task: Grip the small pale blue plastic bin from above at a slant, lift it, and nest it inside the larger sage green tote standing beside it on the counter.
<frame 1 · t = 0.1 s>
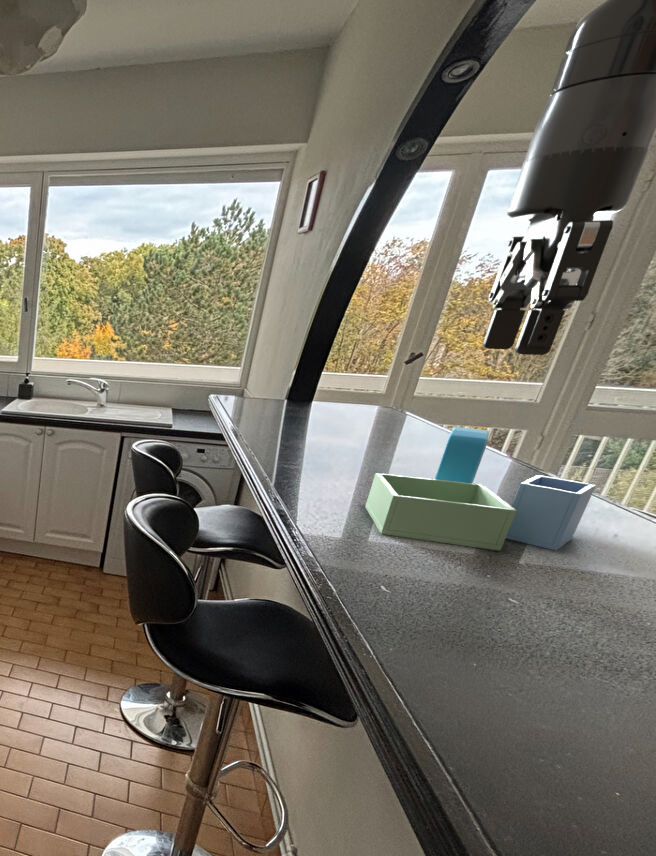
hand: (512, 351, 56), 26 cm above the countertop, tool pointing down, fingers open, 8 cm apart
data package: (444, 505, 98), on the countertop
small bin: (535, 537, 84), on the countertop
green tote: (426, 527, 87), on the countertop
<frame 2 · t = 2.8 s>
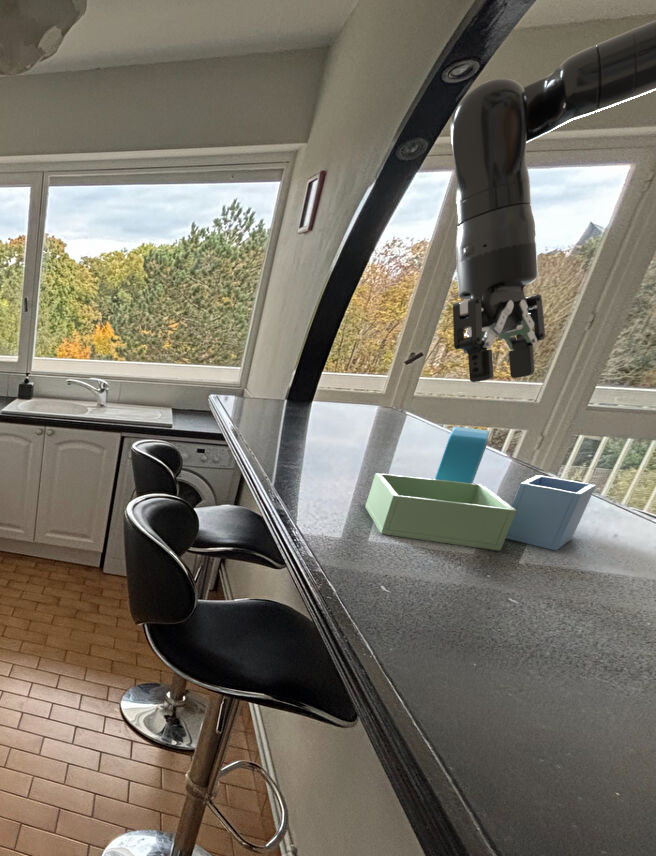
hand: (502, 378, 78), 22 cm above the countertop, tool tilted 20°, fingers open, 8 cm apart
nothing on the countertop moved.
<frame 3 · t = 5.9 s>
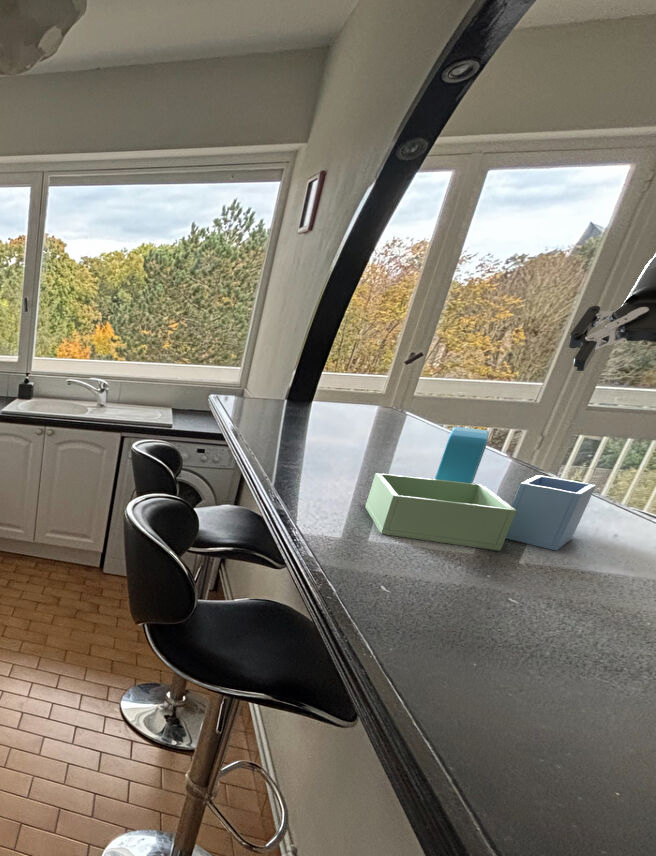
hand: (624, 370, 81), 23 cm above the countertop, tool tilted 45°, fingers open, 8 cm apart
nothing on the countertop moved.
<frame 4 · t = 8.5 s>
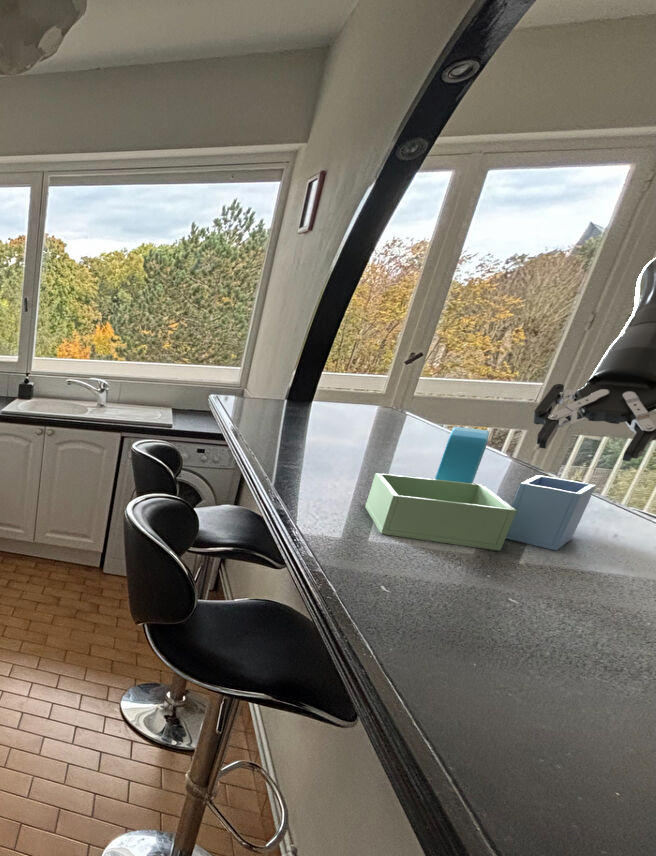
hand: (583, 451, 83), 12 cm above the countertop, tool tilted 45°, fingers open, 8 cm apart
nothing on the countertop moved.
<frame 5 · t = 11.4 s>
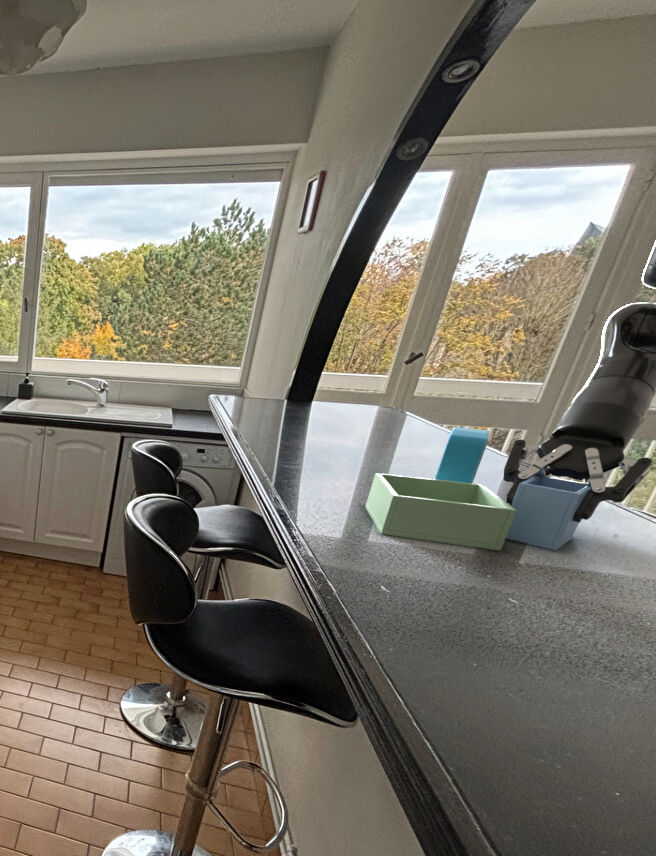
hand: (543, 511, 81), 4 cm above the countertop, tool tilted 45°, fingers closed on small bin, 6 cm apart
small bin: (535, 537, 84), on the countertop, touching gripper
everything else where it was.
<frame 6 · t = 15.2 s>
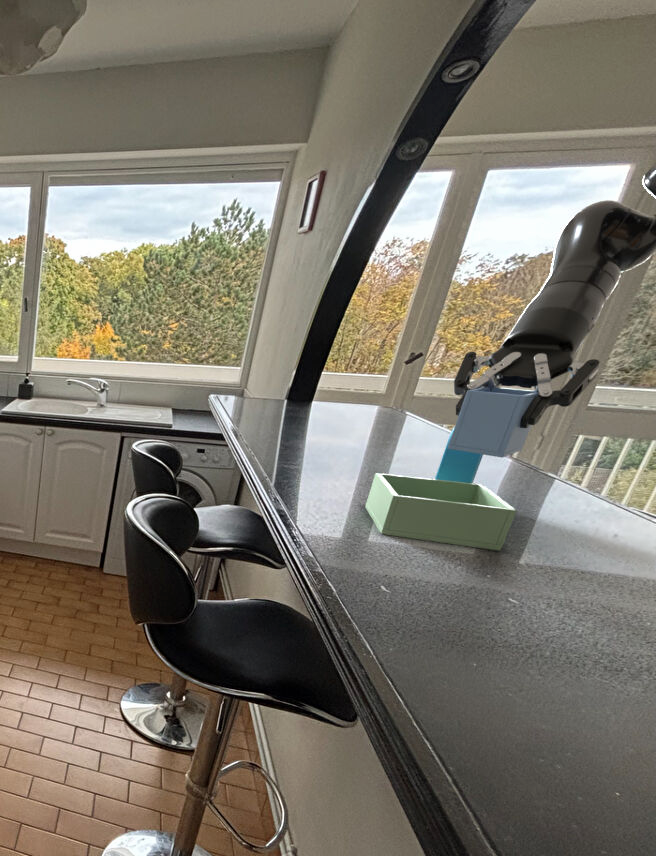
hand: (491, 419, 79), 16 cm above the countertop, tool tilted 45°, fingers closed on small bin, 6 cm apart
small bin: (484, 449, 82), point 12 cm above the countertop, touching gripper
everything else where it was.
when the fingers open (5 cm above the countertop, at t = 19.2 s): small bin stays where it is, resting on green tote.
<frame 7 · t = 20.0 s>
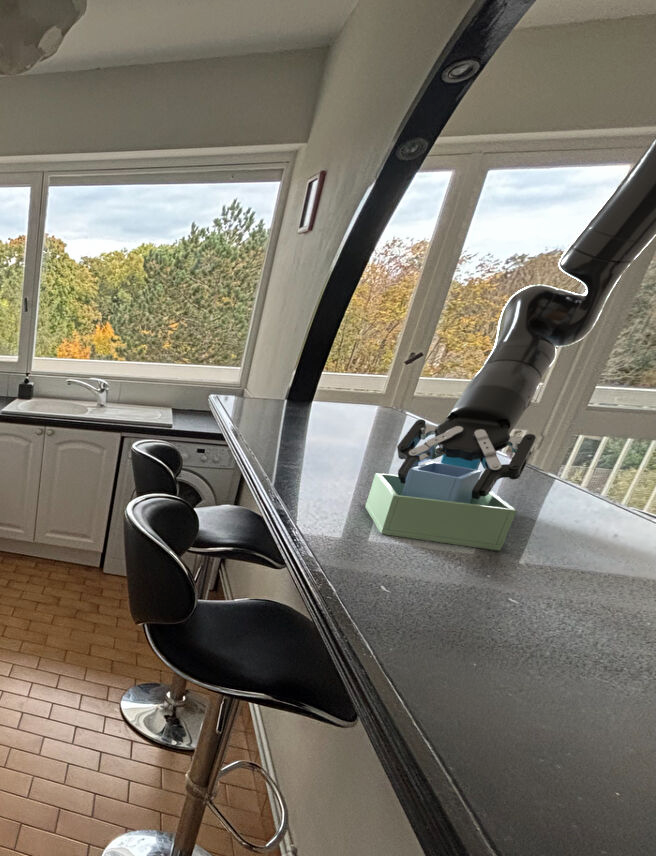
hand: (437, 488, 84), 6 cm above the countertop, tool tilted 45°, fingers open, 8 cm apart
small bin: (427, 521, 87), point 1 cm above the countertop, touching green tote
everything else where it was.
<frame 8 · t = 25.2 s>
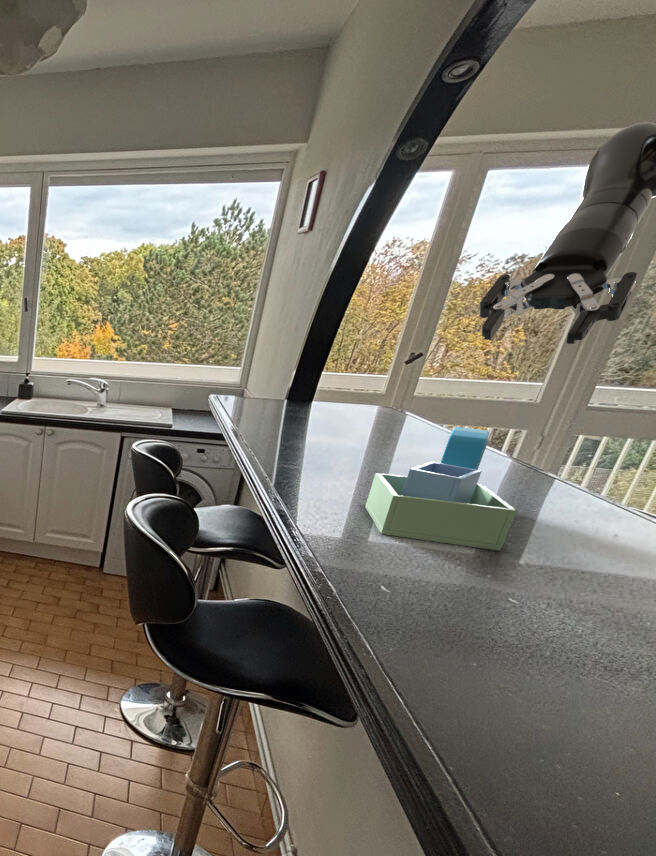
hand: (527, 337, 80), 27 cm above the countertop, tool tilted 45°, fingers open, 8 cm apart
nothing on the countertop moved.
at the end: small bin inside the target area in the green tote (0.1 cm from its centre), point 0.8 cm above the green tote's base; small bin tilted 0°; the gripper is holding nothing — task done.
